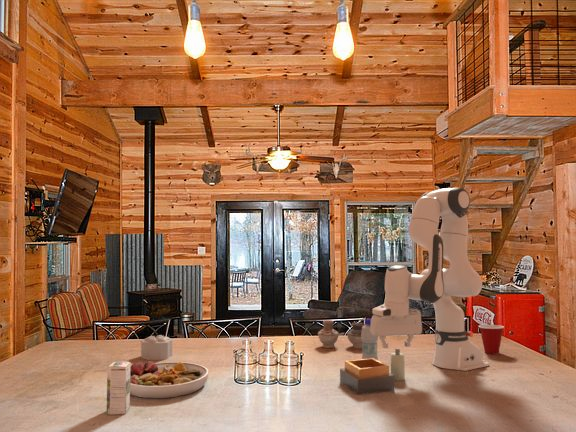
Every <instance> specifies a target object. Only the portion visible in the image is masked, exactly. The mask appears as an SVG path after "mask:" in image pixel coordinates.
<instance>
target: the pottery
mask: <svg viewBox="0 0 576 432" xmlns="http://www.w3.org/2000/svg"><path fill="white" fill-rule="evenodd" d="M322 324H323V328H322V329H320V330H319V331H318V332H317V337H318V339H319V341H320V343H322V348H326V349H330V348H332V349H333V348H335V344H336V342H337V341H338V339H339V335H340V334H339V331H337V330H336V329H334V328H333V326H334V321H333V320H323V321H322ZM363 326H365V323H361V322H354V323H352V327H351V328H352V329H350V330H348V331H347V333H346V335H347V336H346V337H347V339H348V341H349V342H350V344H352V348H354V349H362V338H361V337H362V336H361V333H362V327H363Z"/></svg>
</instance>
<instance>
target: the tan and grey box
mask: <svg viewBox="0 0 576 432" xmlns="http://www.w3.org/2000/svg"><path fill="white" fill-rule="evenodd" d="M339 383H340V384H341V385H343V386H345V387H346V388H348V390H350V391H352V392H353V393H355V395H365V394H366V395H367V394H373V393H374V394H375V393H382V392H391V391H395V380H394V375H392V374H391V372H390V365H387V364H385V363H383V362H382V361H380V360H379V359H378V360H376V359H374V358H369V359H362V358H361V359H350V360H344V367H343V368H339Z"/></svg>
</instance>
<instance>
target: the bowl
mask: <svg viewBox="0 0 576 432" xmlns="http://www.w3.org/2000/svg"><path fill="white" fill-rule="evenodd" d="M208 378H209V369H208V368H207V367H205V366H204V365H201V364H197V363H194V362H193V363H191V362H185V361H183V362H182V361H174V362H173V361H169V362H165V361H164V362H157V363H155V362H154V360H148V361H146V362H145V364H144V363H143V362H142V361H136V362H134V363H132V364H130V395H132V396H135V397H139V398H142V397H143V398H144V399H145V398H146V399H169V398H170V397H171V398H177V397H182V396H186V395H188V394H191V393H194V392H196V391H198V390H200V389H201V388H203V386H204V385H205V384H206V383H207V382H208ZM181 395H182V396H181ZM176 396H177V397H176Z"/></svg>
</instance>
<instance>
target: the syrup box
mask: <svg viewBox="0 0 576 432" xmlns="http://www.w3.org/2000/svg"><path fill="white" fill-rule="evenodd" d="M131 365H132V363H131V362H129V361H113V362H112V363H110V365H109V366H107V372H106V374H107V377H106V378H107V379H106V380H107V381H106V415H107V416H108V415H109V416H111V415H126V414H127V413H128V411H129V409H130V407H131V394H130V367H131Z"/></svg>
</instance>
